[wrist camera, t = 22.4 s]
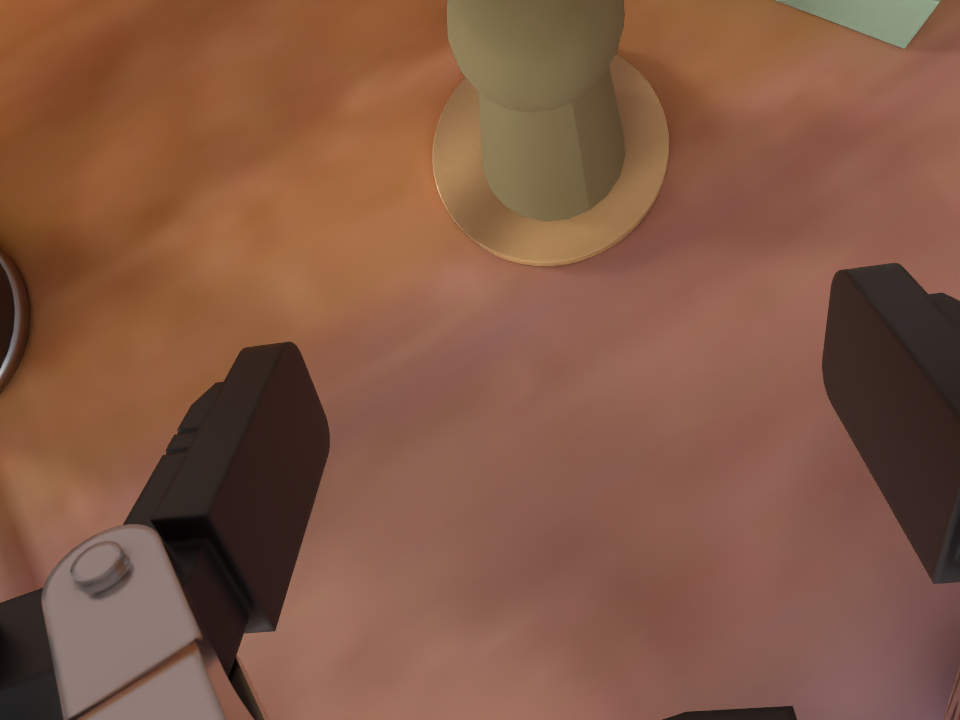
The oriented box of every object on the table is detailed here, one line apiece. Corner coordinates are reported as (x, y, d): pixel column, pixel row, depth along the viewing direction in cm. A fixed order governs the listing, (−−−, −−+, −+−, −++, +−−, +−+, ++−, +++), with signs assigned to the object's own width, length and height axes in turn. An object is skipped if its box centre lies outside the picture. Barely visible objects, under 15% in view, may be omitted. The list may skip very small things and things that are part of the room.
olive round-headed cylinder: (468, 106, 31) (402, -83, 20) (606, 68, 30) (613, -149, 20) (497, 236, 30) (443, 110, 19) (640, 200, 29) (667, 48, 18)
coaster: (394, 205, 32) (391, 201, 31) (502, 12, 32) (501, 4, 31) (598, 306, 30) (598, 303, 29) (710, 98, 30) (712, 91, 29)
